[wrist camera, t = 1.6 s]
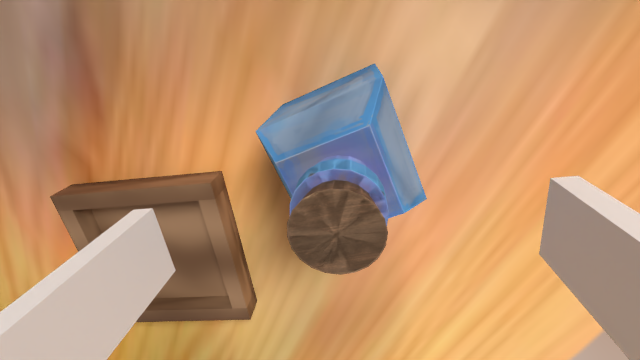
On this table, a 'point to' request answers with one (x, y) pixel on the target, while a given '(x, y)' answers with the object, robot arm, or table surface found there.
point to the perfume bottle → (342, 170)
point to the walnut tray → (174, 240)
